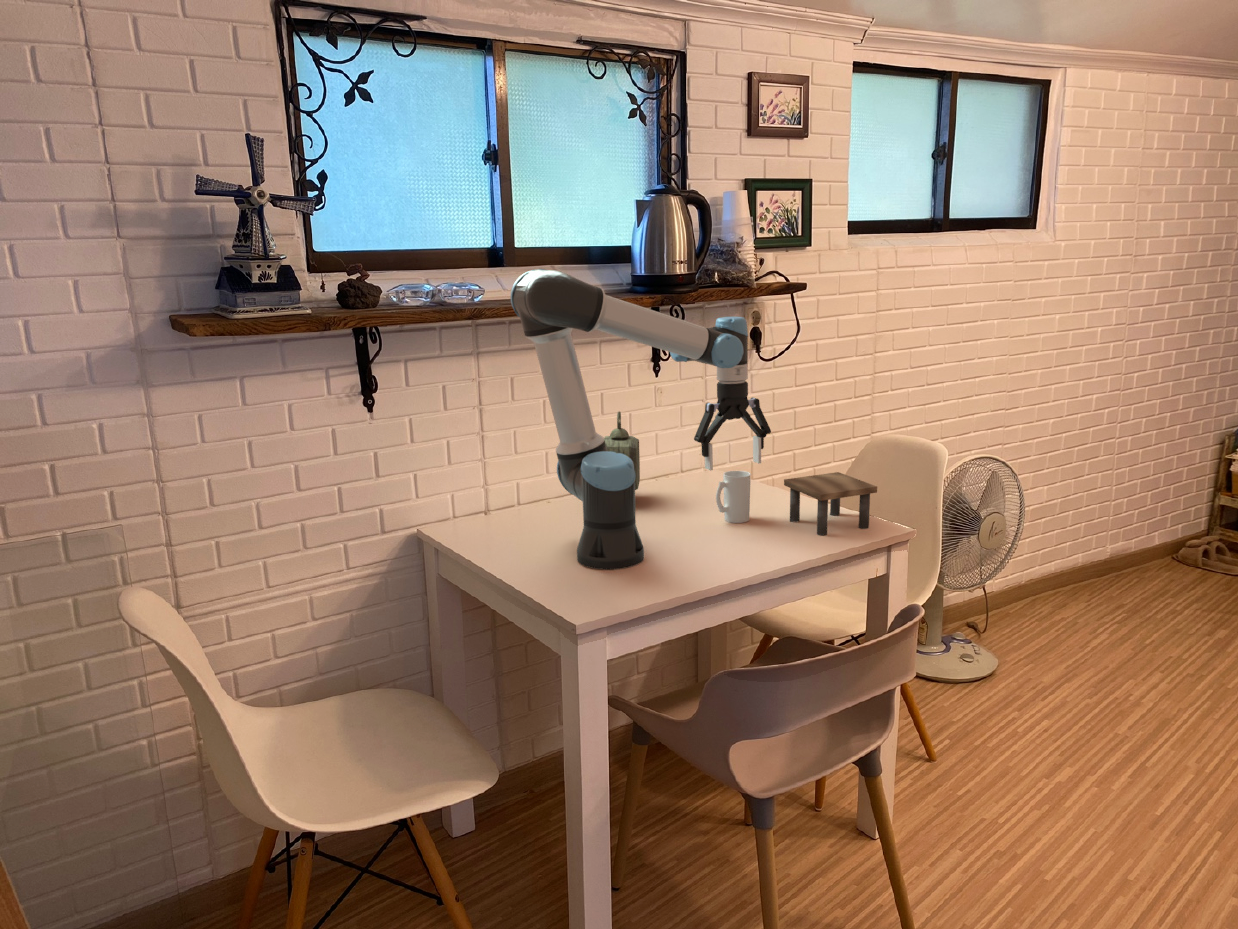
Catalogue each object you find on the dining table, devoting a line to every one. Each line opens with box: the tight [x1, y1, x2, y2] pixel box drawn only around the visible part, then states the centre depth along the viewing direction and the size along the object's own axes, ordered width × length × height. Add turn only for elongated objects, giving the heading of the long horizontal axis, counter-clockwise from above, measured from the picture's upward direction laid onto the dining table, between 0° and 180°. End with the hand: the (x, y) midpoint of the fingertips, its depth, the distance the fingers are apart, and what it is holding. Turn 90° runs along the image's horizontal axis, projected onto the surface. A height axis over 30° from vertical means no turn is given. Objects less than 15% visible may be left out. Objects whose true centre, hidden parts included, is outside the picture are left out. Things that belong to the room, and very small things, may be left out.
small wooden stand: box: [783, 471, 878, 537], centre depth 227 cm, size 16×16×10 cm
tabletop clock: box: [604, 411, 641, 491], centre depth 250 cm, size 14×9×25 cm, turn 175°
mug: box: [715, 470, 751, 524], centre depth 231 cm, size 10×7×12 cm, turn 124°
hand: (733, 465), depth 230 cm, fingers open, 13 cm apart
